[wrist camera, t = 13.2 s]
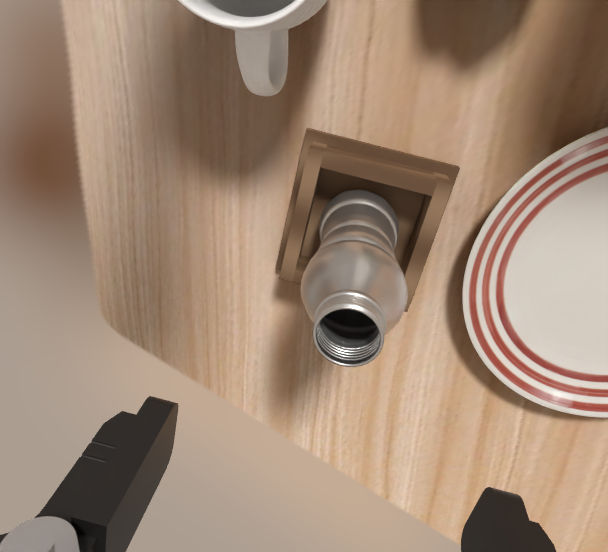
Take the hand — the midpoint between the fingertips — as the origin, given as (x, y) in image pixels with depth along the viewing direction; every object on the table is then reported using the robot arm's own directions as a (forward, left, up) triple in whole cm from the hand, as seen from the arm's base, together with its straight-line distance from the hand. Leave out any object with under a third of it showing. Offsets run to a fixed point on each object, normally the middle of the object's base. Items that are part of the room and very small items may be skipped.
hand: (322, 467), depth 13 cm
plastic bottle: (+3, +1, -33) cm, 33 cm away
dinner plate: (+2, +24, -34) cm, 42 cm away
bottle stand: (+3, +1, -33) cm, 33 cm away
